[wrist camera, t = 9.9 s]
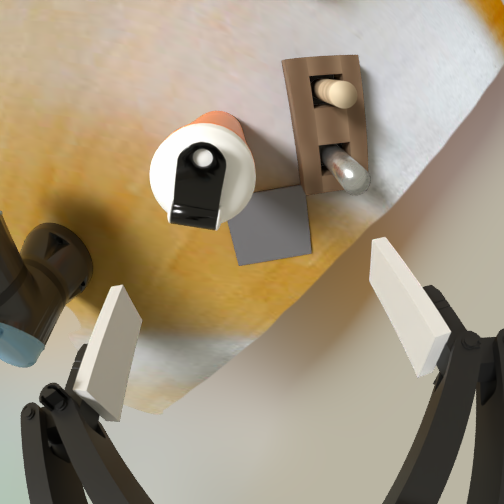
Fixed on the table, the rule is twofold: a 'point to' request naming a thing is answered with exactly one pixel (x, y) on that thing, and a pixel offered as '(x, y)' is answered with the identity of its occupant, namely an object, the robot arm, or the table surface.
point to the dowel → (334, 92)
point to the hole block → (324, 118)
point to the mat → (272, 226)
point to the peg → (345, 169)
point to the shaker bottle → (204, 172)
